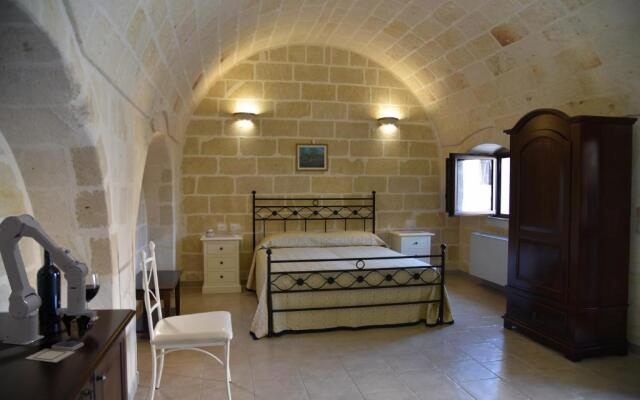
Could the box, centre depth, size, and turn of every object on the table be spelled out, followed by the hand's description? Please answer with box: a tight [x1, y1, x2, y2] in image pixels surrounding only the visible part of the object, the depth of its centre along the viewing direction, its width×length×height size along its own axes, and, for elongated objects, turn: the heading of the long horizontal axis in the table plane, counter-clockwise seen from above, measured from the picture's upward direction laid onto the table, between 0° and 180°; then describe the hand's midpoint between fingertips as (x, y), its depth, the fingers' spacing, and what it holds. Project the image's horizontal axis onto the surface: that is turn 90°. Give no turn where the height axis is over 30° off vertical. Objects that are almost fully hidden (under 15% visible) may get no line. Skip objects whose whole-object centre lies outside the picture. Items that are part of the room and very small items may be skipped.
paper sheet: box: [24, 348, 75, 363], centre depth 140 cm, size 11×8×1 cm
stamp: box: [68, 319, 85, 342], centre depth 154 cm, size 4×4×7 cm
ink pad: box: [51, 339, 84, 352], centre depth 147 cm, size 8×5×1 cm, turn 80°
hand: (76, 335), depth 154 cm, fingers closed on stamp, 4 cm apart
